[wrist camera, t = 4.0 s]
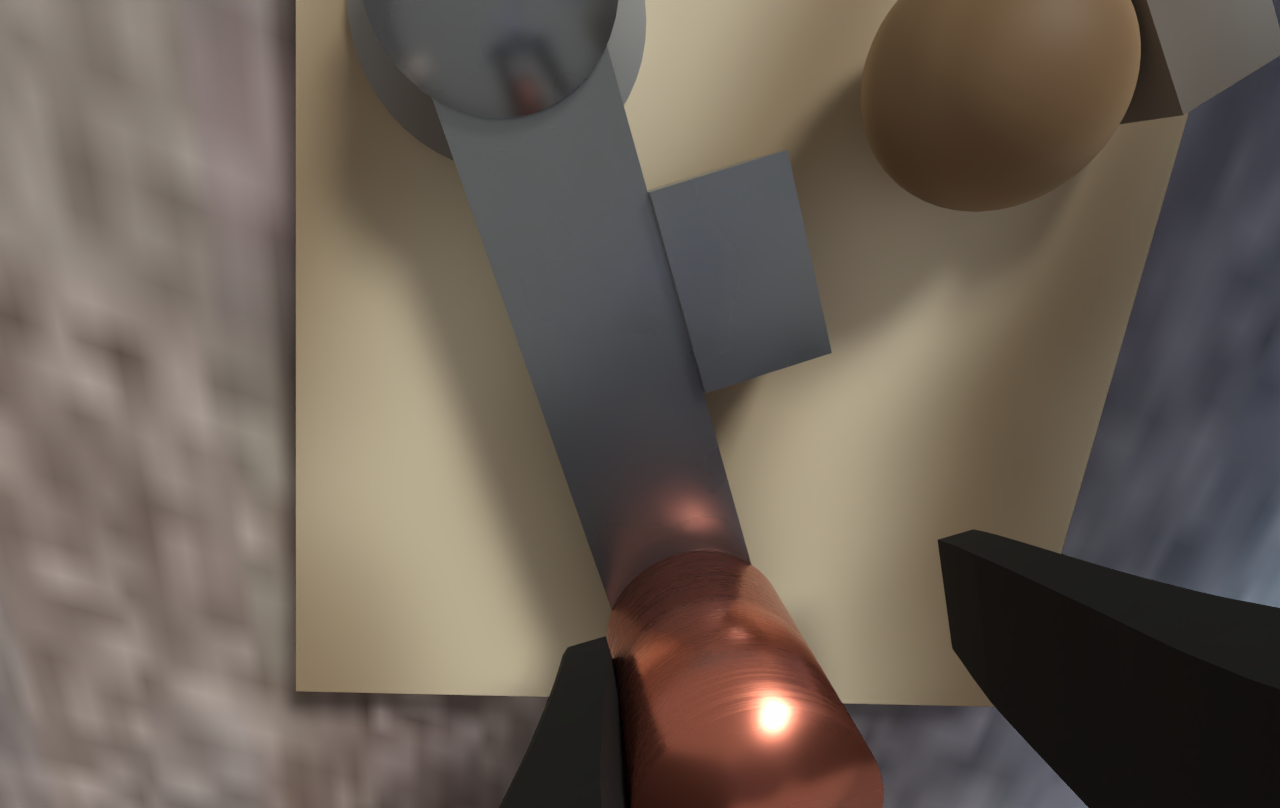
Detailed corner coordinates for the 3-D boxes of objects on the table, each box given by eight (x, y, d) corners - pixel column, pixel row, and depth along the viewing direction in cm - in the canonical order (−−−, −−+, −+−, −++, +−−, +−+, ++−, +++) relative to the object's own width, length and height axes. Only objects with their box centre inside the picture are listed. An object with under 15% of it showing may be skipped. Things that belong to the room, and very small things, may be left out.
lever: (676, -167, 10) (805, -538, 5) (854, 597, 14) (1032, 824, 9) (353, -74, 10) (153, -362, 5) (620, 675, 14) (664, 952, 9)
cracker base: (1178, -35, 13) (1512, -163, 9) (985, 673, 17) (1147, 846, 12) (322, -204, 11) (161, -498, 6) (315, 653, 15) (210, 855, 10)
